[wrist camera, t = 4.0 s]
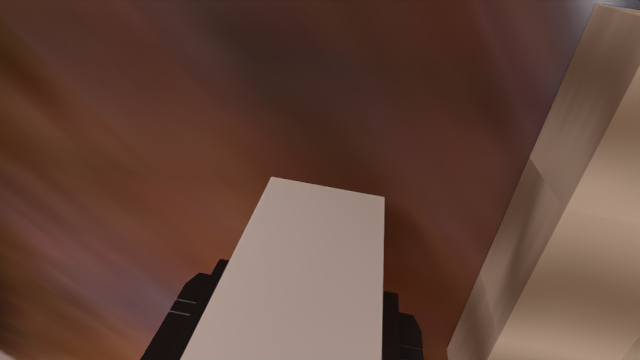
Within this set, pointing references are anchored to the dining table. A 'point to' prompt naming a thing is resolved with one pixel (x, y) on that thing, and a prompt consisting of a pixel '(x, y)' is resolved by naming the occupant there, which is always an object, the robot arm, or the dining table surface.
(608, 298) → the socket block
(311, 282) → the plug
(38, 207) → the dining table surface
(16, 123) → the dining table surface
